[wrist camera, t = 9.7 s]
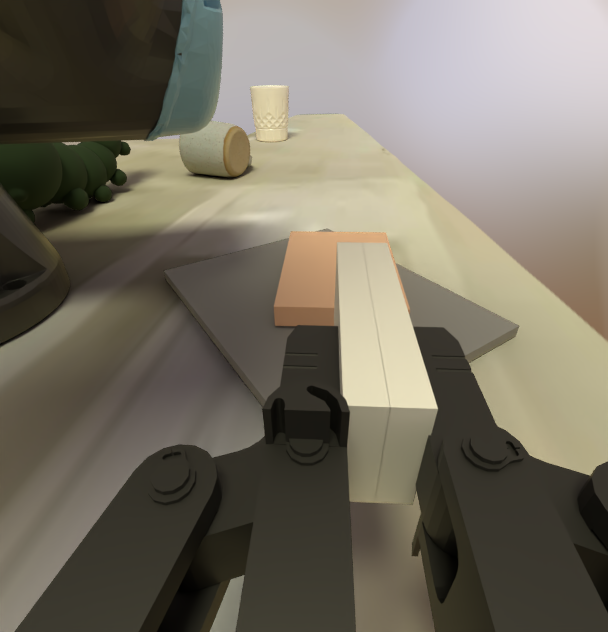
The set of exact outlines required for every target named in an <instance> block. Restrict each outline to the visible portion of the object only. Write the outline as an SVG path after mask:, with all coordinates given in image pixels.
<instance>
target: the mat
mask: <svg viewBox="0 0 608 632" xmlns="http://www.w3.org/2000/svg"><path fill="white" fill-rule="evenodd" d="M316 232H333V231H331V230H329V229H323V230H319V231H316ZM288 242H289V238H288V239H284V240H281V241H277V242H273V243H269V244H265V245H261V246H257V247H253V248H249V249H246V250H242V251H238V252H234V253H230V254H226V255H222V256H218V257H214V258H211V259H207V260H203V261H199V262H195V263H191V264H187V265H183V266H179V267H176V268H172V269H168V270H164V274H165V278H166V280H167V282H168V283H169V284H170V286H171V287H172V288H173V290H174V291H175V292H176V294H177V295H178V296H179V298H180V299H181V300H182V301H183V303H184V304H185V305H186V307H187V308H188V309H189V311H190V312H191V313H192V315H193V316H194V317H195V319H196V320H197V321H198V322H199V324H200V325H201V326H202V328H203V329H204V330H205V332H206V333H207V334H208V336H209V337H210V338H211V340H212V341H213V342H214V343H215V345H216V346H217V347H218V349H219V350H220V351H221V353H222V354H223V355H224V357H225V358H226V359H227V361H228V362H229V363H230V364H231V366H232V367H233V368H234V370H235V371H236V372H237V374H238V375H239V376H240V378H241V379H242V380H243V381H244V383H245V384H246V385H247V387H248V388H249V389H250V391H251V392H252V393H253V395H254V396H255V397H256V399H257V400H258V401H259V402H260V404H261V405H262V406H263V407H264V404H265V402H266V400H267V398H268V396H269V395H271V394H272V393H273V392H274V391H275V390H276V389H277V388H278V387H280V383H281V376H282V369H283V363H284V356H285V349H286V343H287V337H288V336H289V335H290V334H291V332H292V331H293V330H294V329H295V328H296V326H275V318H274V303H275V299H276V294H277V290H278V286H279V281H280V277H281V272H282V268H283V264H284V259H285V255H286V250H287V246H288ZM396 267H397V270H398V273H399V276H400V279H401V282H402V285H403V288H404V292H405V295H406V298H407V301H408V304H409V307H410V314H409V316H410V319H411V322H412V326H413V327H444V328H445V329H446V330H447V331H448V332H449V333H450V334H452V335H453V336H454V337H455V338H456V339H457V340H458V341H459V343H460V345H461V348H462V350H463V352H464V354H465V359H467V361H468V363H469V362H471V361H473V360H475V359H476V358H478V357H480V356H482V355H483V354H485V353H487V352H489V351H490V350H492V349H494V348H496V347H497V346H499V345H501V344H503V343H505V342H506V341H508V340H510V339H512V338H513V337H515V336H516V333H517V331H518V328H519V325H517V324H515V323H513V322H511V321H509V320H507V319H505V318H503V317H501V316H499V315H497V314H495V313H493V312H491V311H489V310H487V309H485V308H483V307H481V306H479V305H477V304H475V303H473V302H471V301H469V300H467V299H465V298H463V297H461V296H459V295H457V294H455V293H454V292H452V291H450V290H448V289H446V288H444V287H442V286H440V285H438V284H436V283H434V282H432V281H430V280H428V279H426V278H424V277H422V276H420V275H418V274H416V273H414V272H412V271H410V270H408V269H406V268H404V267H402V266H400V265H398V264H396Z"/></svg>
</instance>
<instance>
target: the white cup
mask: <svg viewBox="0 0 608 632" xmlns="http://www.w3.org/2000/svg"><path fill="white" fill-rule="evenodd" d="M288 88H289V87H288V86H252V87H250V90H251V98H252V108H253V117H254V124H255V127H256V137H257V140H258V141H264V142H277V141H284V140H286V139H287V126H288V93H289V89H288Z"/></svg>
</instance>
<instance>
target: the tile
mask: <svg viewBox="0 0 608 632" xmlns="http://www.w3.org/2000/svg"><path fill="white" fill-rule="evenodd" d="M337 242H356V243H387V244H388V247H389V250H390V254H391V257H392V260H393V263H394V267H395V270H396V273H397V277H398V280H399V283H400V286H401V290H402V293H403V296H404V299H405V303H406V306H407V309H408V312H409V314H410V307H409V304H408V301H407V298H406V295H405V292H404V288H403V285H402V282H401V279H400V276H399V273H398V270H397V267H396V263H395V260H394V257H393V254H392V251H391V248H390V245H389V242H388V238H387V235H386V233H380V232H295V231H291V233H290V237H289V242H288V246H287V250H286V255H285V259H284V264H283V268H282V272H281V277H280V281H279V286H278V290H277V294H276V299H275V303H274V318H275V326H297V325H317V326H334V303H335V279H336V255H337Z"/></svg>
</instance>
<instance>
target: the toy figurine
mask: <svg viewBox="0 0 608 632" xmlns="http://www.w3.org/2000/svg"><path fill="white" fill-rule="evenodd" d="M130 150H131V149H130V147H129V145H128V143H126V142H121V140H118V141H87V142H81V143H79V144H78V145H65V144H63V143H62V142H56V143H25V144H0V183H1V185H2V186H3V188H4V189H5V190H6V191H7V193H8V194H9V195H10V196H11V197H12V198H13V200H14V201H15V202H16V203H17V204H18V205H19V207H20V208H21V209H22V210H23V211H24V213H25V214H26V215H27V216H28V217H29V218H30V220H31V221H32V222H33V223H34V221H35V215H34V213H33V211H32V210H33V209H36V208H39V207H46V206H48V205H50V204H51V203H54V204H60V203H64V204H65V205H66V206H67V207H69V208H71V209H73V210H81V209H83V208H85V207H86V206H88V202H89V198H92V197H95V198H96V199H97V200H98V201H101V202H107V201H109V200H110V199H111V197H112V192H111V190H110V189H109V187H107V186H106V182H108V181H109V180H110V181H111V183H113V184H115V185H117V186H122V185H123V184H124V183H125V182H126V181H127V177H126V174H125V173H124V172H123V171H121V170H120V169H117V161H116V157H117V156H118V155H119V154H120V155H128V154H129V153H130Z"/></svg>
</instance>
